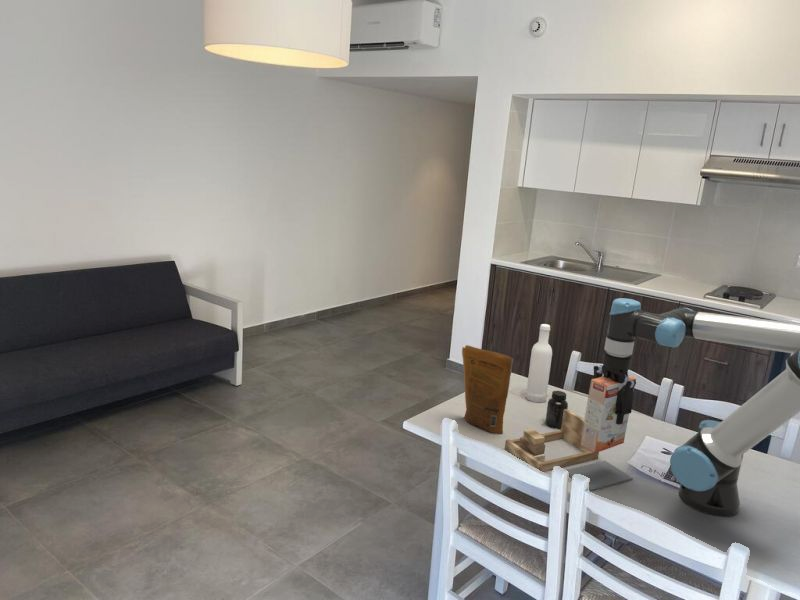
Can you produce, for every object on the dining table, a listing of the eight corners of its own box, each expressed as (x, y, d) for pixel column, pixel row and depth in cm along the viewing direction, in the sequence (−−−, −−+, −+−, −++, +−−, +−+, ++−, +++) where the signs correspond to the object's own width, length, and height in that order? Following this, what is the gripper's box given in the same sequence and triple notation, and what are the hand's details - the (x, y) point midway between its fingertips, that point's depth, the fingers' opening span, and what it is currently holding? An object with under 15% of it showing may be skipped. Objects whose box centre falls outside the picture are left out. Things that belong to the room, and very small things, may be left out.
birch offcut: (544, 463, 182) (545, 455, 182) (533, 466, 181) (535, 457, 180) (527, 451, 189) (528, 443, 189) (517, 453, 187) (518, 445, 187)
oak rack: (597, 458, 187) (602, 429, 185) (537, 472, 176) (542, 442, 174) (562, 436, 201) (566, 409, 199) (504, 448, 190) (508, 419, 187)
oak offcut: (543, 445, 181) (544, 437, 181) (534, 446, 180) (535, 439, 179) (532, 436, 187) (533, 429, 186) (523, 437, 185) (524, 430, 185)
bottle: (547, 397, 234) (557, 324, 227) (544, 404, 227) (554, 329, 220) (527, 393, 237) (537, 320, 230) (523, 399, 230) (532, 325, 223)
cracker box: (596, 455, 168) (607, 385, 163) (578, 445, 173) (589, 378, 168) (625, 443, 176) (637, 377, 171) (608, 435, 181) (619, 370, 176)
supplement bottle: (554, 419, 214) (558, 388, 211) (569, 427, 209) (573, 395, 206) (540, 422, 211) (545, 391, 208) (555, 430, 205) (560, 398, 202)
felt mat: (632, 479, 176) (632, 478, 176) (590, 491, 168) (590, 489, 168) (604, 462, 185) (604, 460, 185) (563, 472, 178) (563, 470, 177)
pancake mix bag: (498, 439, 196) (508, 358, 189) (453, 419, 208) (461, 343, 202) (510, 433, 200) (519, 355, 194) (465, 414, 213) (473, 339, 207)
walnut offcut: (544, 453, 183) (545, 444, 182) (534, 456, 180) (535, 447, 180) (528, 443, 188) (529, 434, 188) (518, 446, 186) (520, 437, 186)
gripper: (655, 363, 161) (640, 440, 167) (601, 341, 178) (590, 412, 183) (636, 366, 158) (621, 445, 163) (583, 343, 174) (572, 416, 180)
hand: (605, 427), depth 173 cm, fingers closed on cracker box, 6 cm apart
